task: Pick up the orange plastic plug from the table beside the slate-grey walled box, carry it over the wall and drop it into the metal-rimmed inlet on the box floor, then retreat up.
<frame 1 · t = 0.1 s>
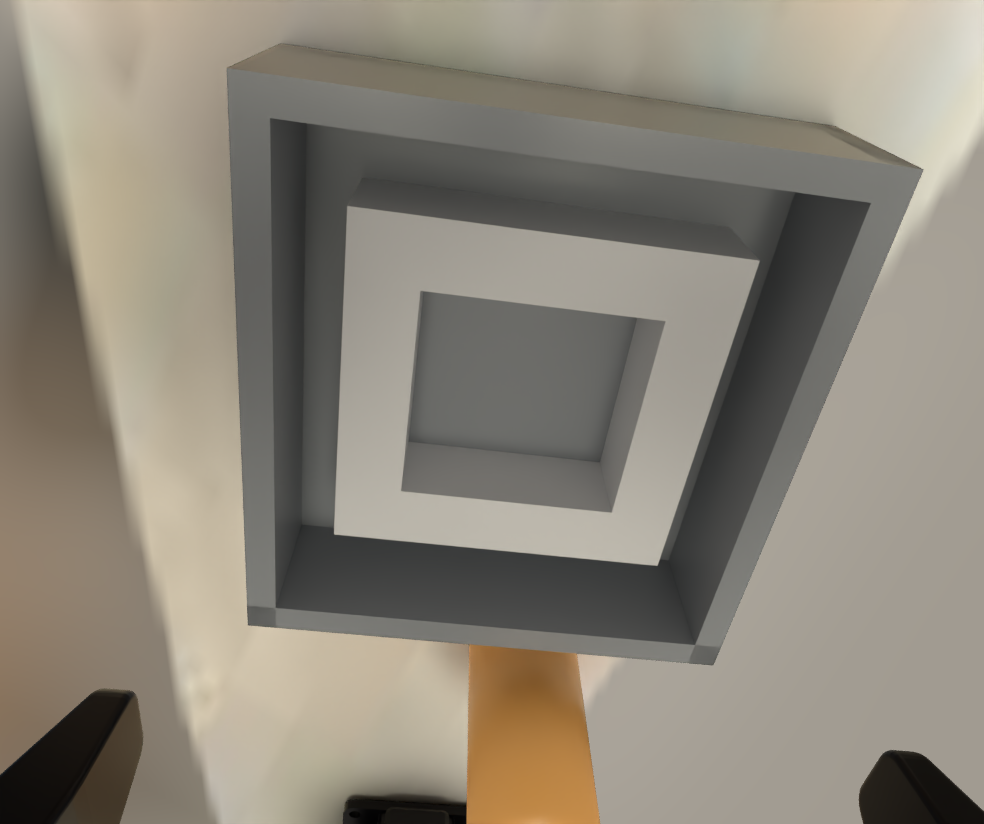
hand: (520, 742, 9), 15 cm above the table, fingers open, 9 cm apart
inlet box: (519, 354, 23), on the table
plug: (521, 638, 29), on the table
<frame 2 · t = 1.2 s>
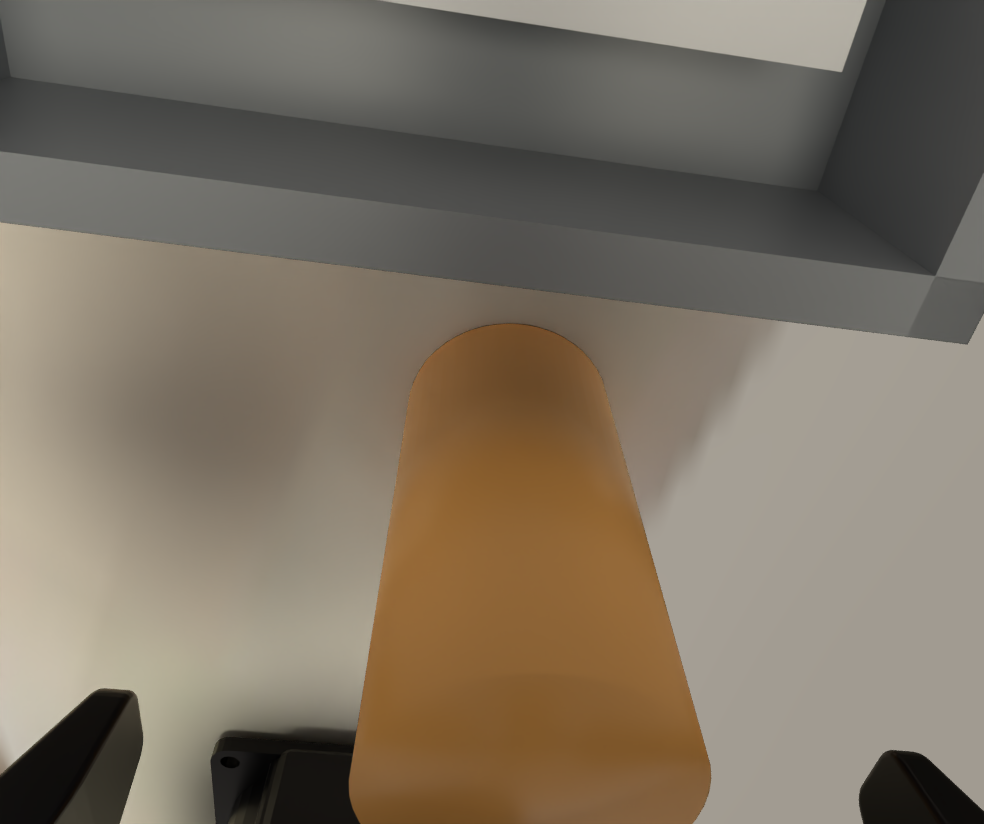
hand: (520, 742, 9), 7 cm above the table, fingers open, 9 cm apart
plug: (507, 414, 15), on the table
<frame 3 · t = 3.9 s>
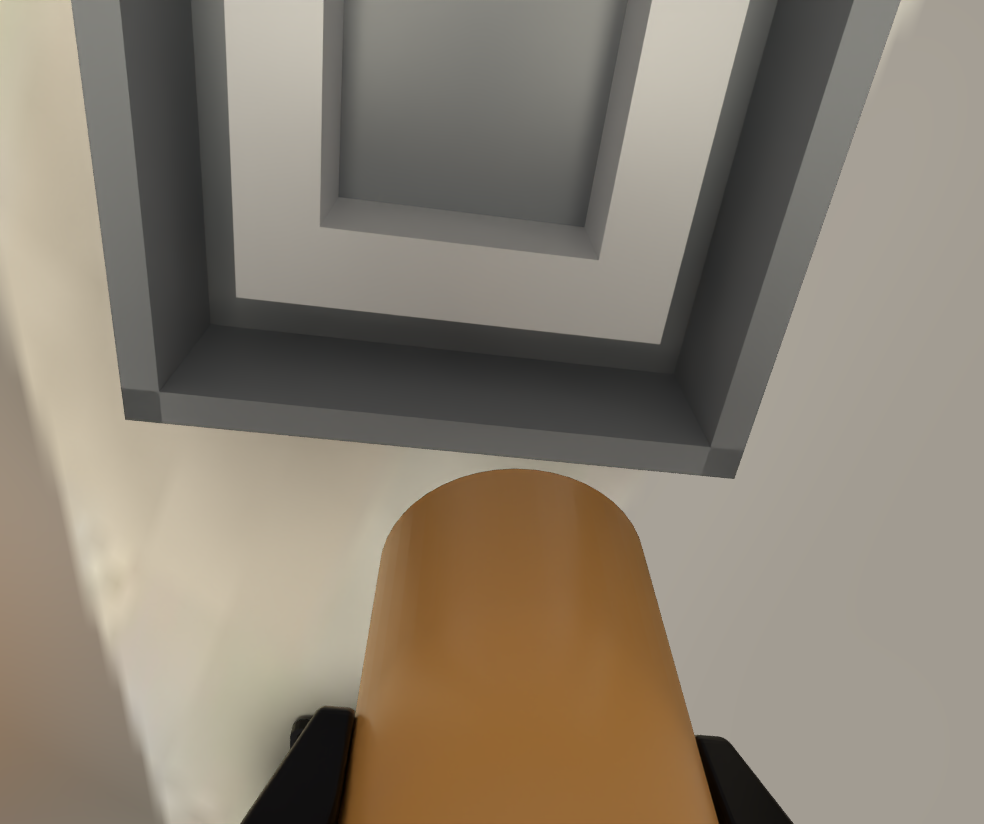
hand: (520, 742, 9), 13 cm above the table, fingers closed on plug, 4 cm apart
inlet box: (477, 75, 18), on the table
plug: (512, 577, 11), point 10 cm above the table, touching gripper
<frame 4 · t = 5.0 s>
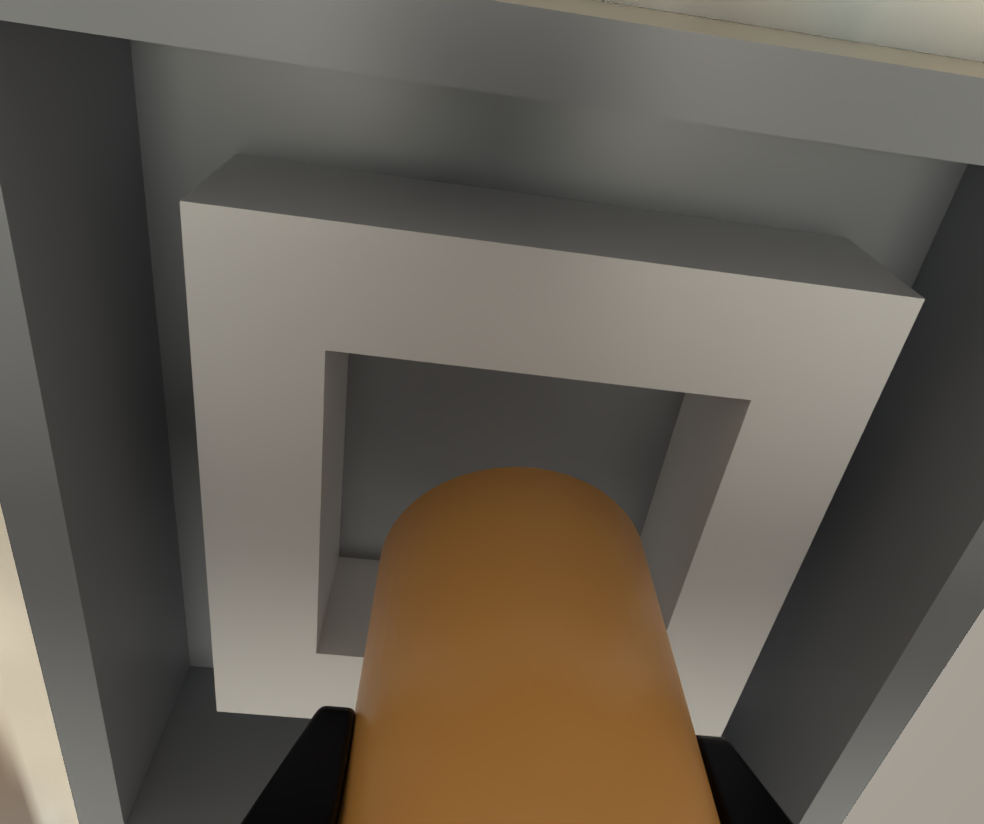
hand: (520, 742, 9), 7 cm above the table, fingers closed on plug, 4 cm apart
inlet box: (504, 428, 15), on the table
plug: (512, 575, 11), point 4 cm above the table, touching gripper
when the fingers open (5 cm above the table, at t = 5.8 s): plug stays where it is, resting on inlet box.
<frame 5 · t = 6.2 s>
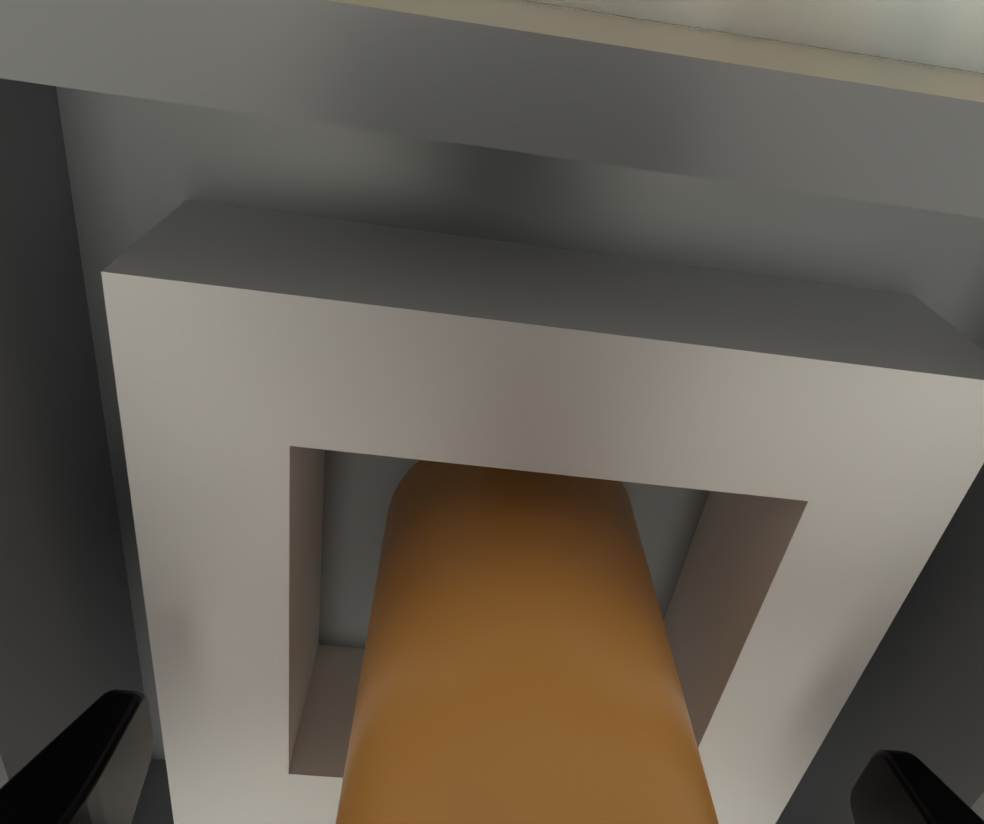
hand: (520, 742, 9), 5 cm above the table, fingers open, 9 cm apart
inlet box: (507, 502, 13), on the table
plug: (509, 532, 12), point 1 cm above the table, touching inlet box
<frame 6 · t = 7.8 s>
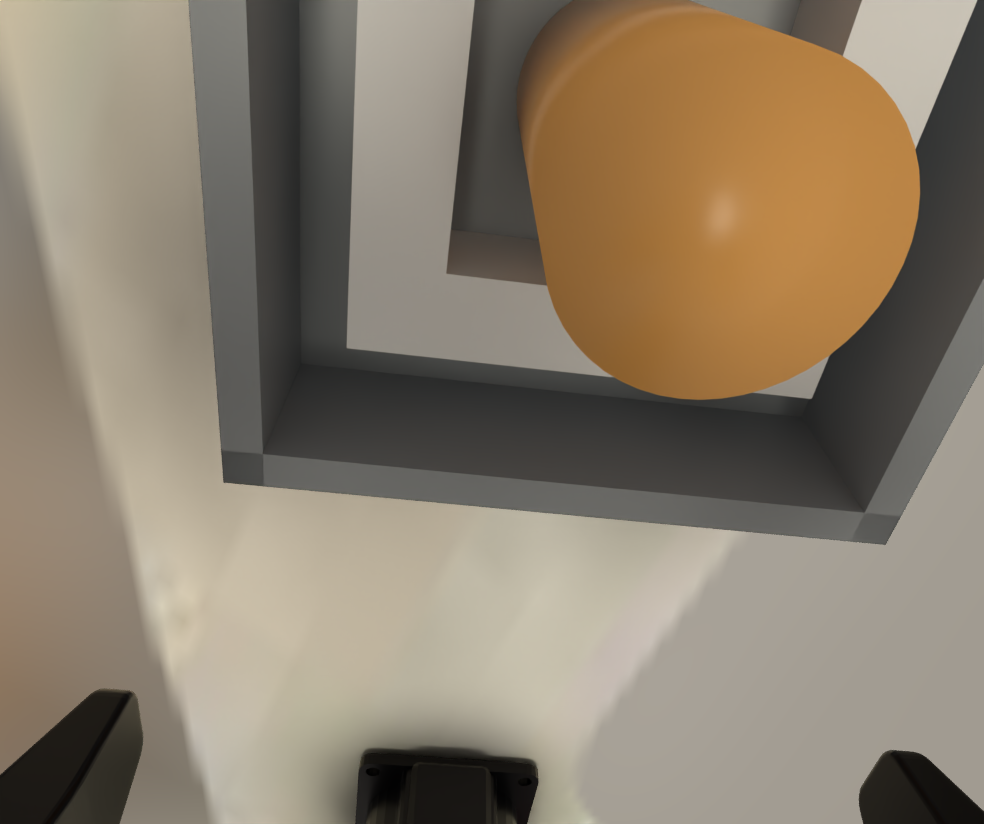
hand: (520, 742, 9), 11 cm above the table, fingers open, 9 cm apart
inlet box: (611, 93, 16), on the table
plug: (617, 100, 15), point 1 cm above the table, touching inlet box
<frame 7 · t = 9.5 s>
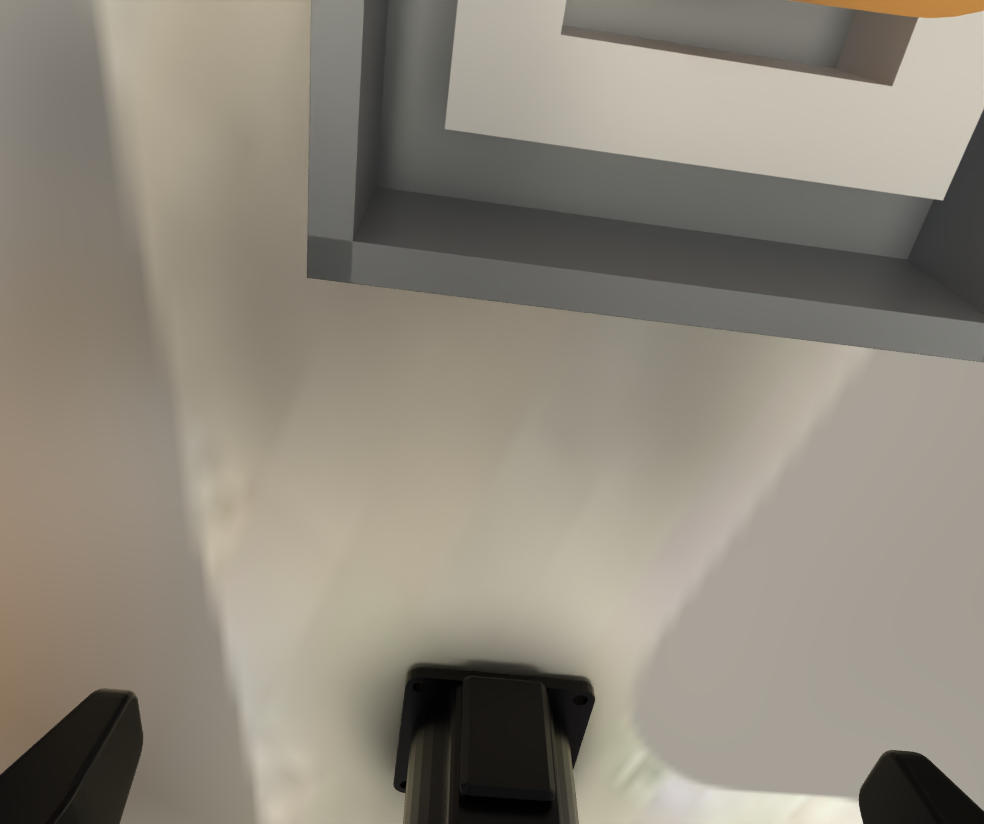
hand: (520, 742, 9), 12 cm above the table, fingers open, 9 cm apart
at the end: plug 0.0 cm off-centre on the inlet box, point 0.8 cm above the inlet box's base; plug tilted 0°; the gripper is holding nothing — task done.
